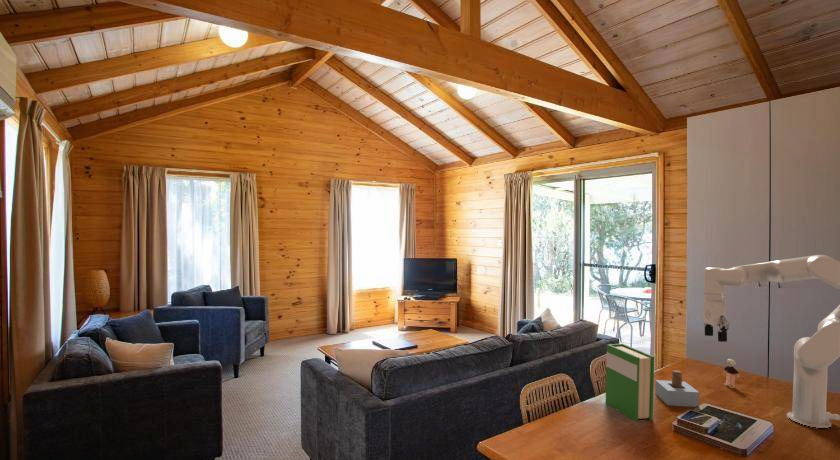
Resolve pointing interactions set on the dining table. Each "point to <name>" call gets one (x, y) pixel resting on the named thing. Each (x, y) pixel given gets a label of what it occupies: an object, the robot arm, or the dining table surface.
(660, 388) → the socket block
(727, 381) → the grandmother figurine
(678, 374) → the peg
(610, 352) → the hardback book
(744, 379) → the dining table surface
